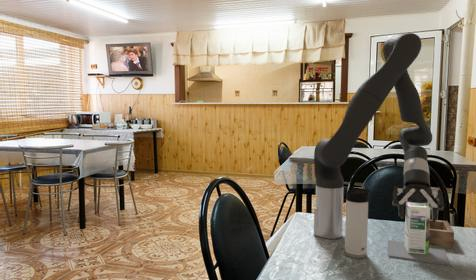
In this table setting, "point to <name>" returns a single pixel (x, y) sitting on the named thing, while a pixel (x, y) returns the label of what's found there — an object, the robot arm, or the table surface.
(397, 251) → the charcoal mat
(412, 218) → the syrup box
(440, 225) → the walnut holder
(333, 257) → the table surface
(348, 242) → the travel mug
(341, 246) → the table surface
